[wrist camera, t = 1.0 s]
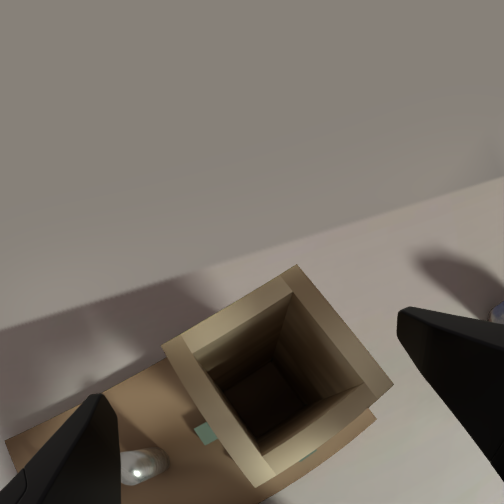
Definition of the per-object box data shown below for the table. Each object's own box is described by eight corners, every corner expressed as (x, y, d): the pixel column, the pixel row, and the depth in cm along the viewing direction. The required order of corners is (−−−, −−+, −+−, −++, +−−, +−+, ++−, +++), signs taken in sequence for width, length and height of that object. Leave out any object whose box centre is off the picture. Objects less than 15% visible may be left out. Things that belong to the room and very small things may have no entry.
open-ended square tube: (361, 411, 17) (464, 386, 8) (243, 492, 15) (235, 565, 5) (281, 307, 21) (305, 199, 12) (165, 377, 18) (84, 322, 9)
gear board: (370, 419, 18) (376, 419, 17) (80, 562, 10) (73, 566, 9) (275, 297, 23) (277, 291, 22) (13, 441, 15) (4, 440, 14)
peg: (175, 466, 15) (151, 478, 11) (152, 476, 15) (122, 490, 10) (160, 442, 16) (132, 446, 12) (137, 453, 16) (104, 459, 11)
